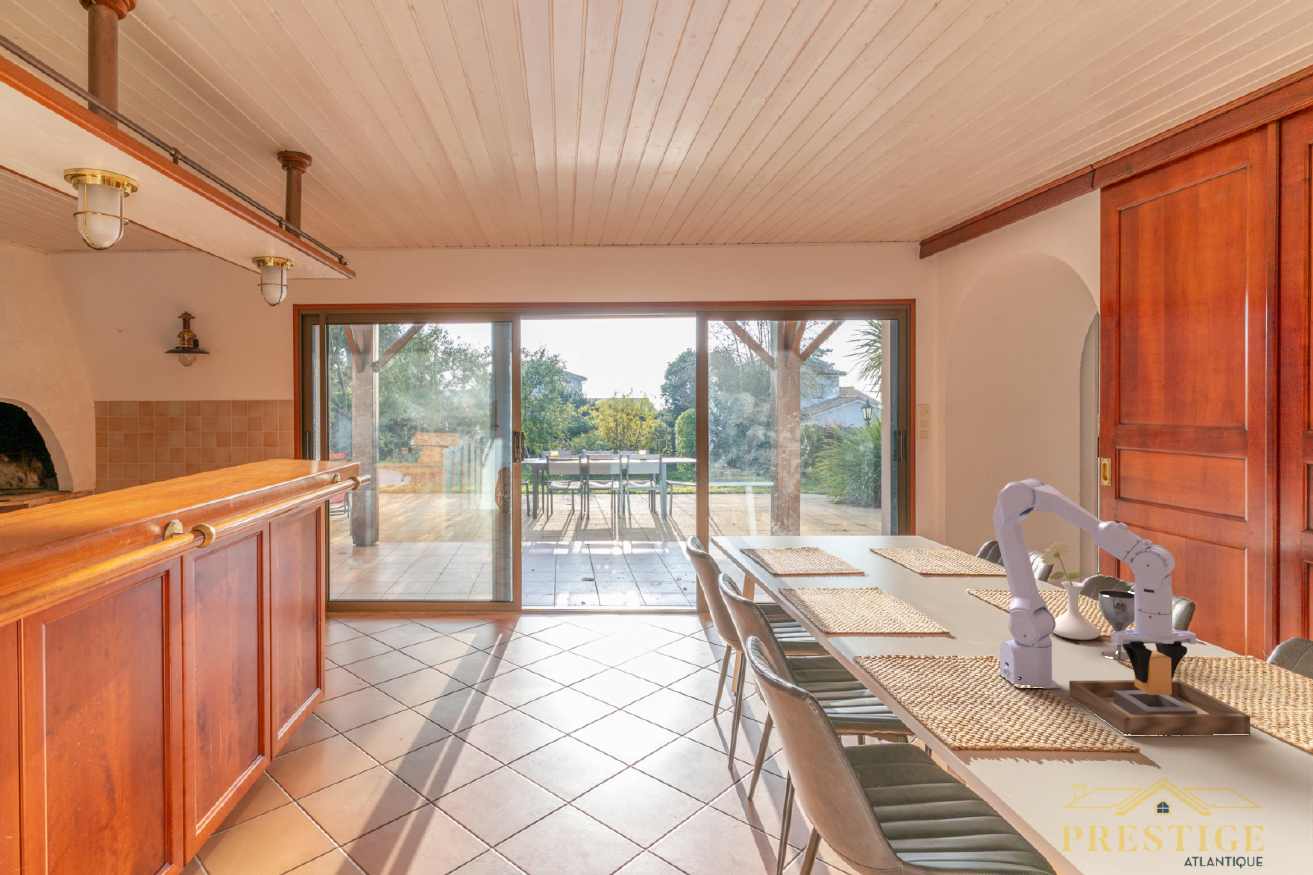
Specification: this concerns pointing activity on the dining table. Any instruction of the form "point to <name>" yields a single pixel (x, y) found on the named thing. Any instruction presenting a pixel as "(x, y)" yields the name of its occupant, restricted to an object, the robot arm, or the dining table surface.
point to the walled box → (1206, 722)
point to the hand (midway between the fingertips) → (1153, 680)
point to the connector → (1157, 675)
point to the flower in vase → (1069, 599)
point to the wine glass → (1117, 615)
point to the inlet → (1149, 703)
